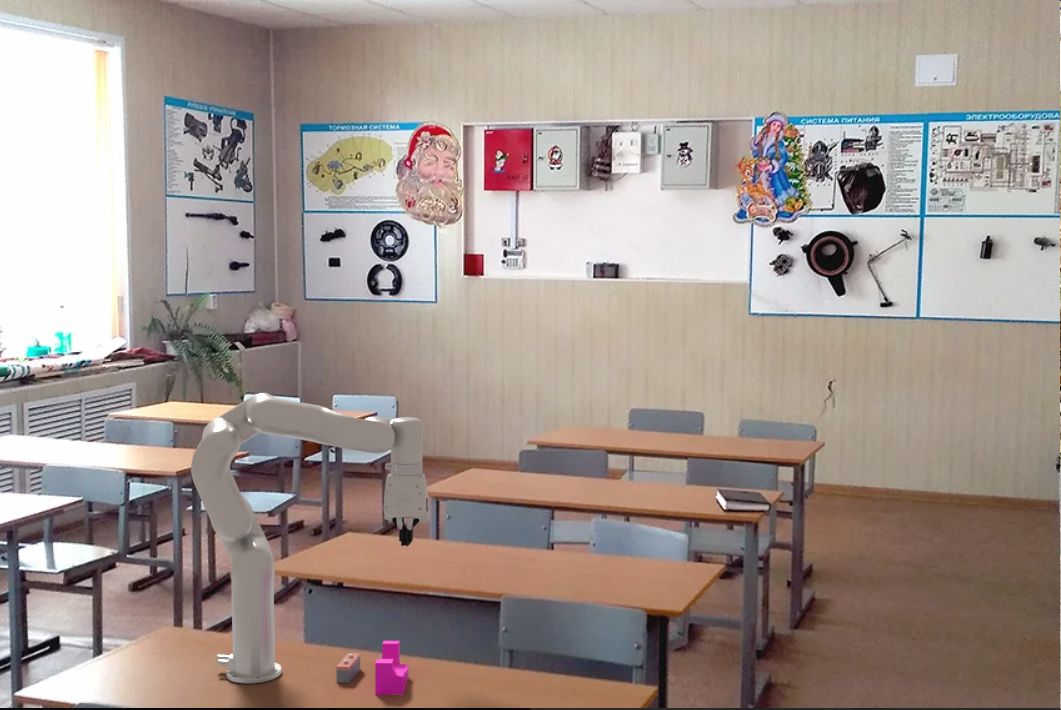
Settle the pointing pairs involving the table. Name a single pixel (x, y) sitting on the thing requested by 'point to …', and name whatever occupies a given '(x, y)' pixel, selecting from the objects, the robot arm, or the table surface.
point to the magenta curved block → (390, 670)
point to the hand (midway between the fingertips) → (406, 544)
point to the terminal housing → (348, 668)
